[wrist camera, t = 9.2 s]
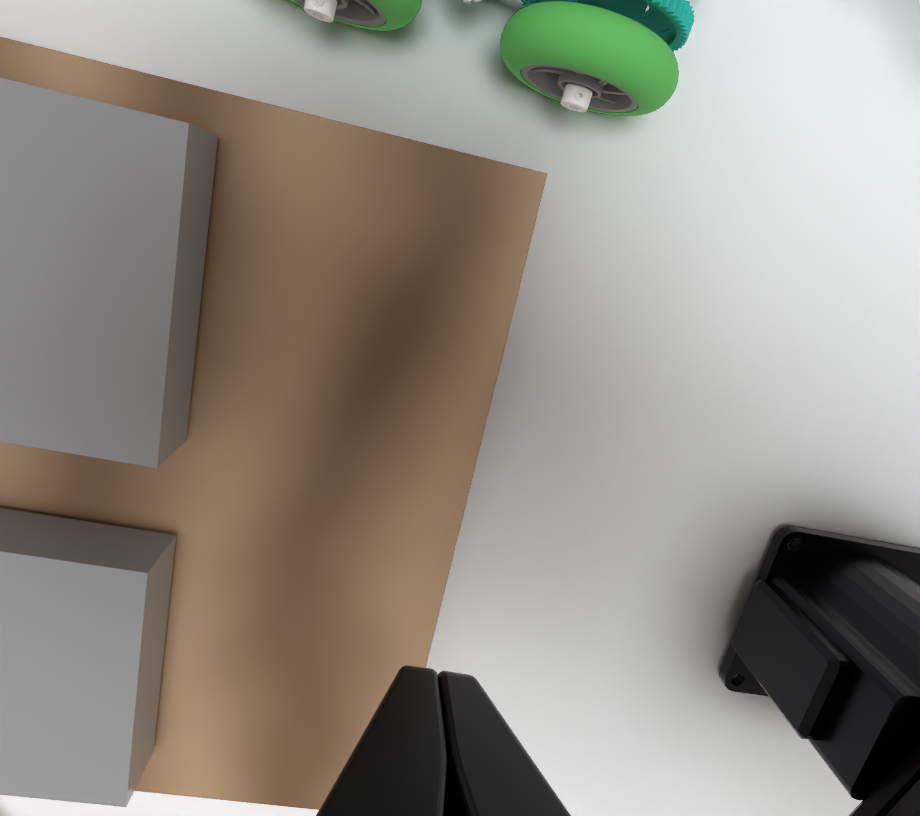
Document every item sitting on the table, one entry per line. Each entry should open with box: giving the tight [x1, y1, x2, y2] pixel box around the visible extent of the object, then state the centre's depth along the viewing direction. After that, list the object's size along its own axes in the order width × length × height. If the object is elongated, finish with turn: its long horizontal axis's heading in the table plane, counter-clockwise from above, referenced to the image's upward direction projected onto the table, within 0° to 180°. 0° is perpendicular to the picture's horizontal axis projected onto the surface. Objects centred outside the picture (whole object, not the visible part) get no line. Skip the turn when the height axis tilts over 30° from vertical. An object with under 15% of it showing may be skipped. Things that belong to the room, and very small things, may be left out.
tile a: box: [0, 508, 176, 807], centre depth 17 cm, size 2×8×8 cm
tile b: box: [0, 78, 218, 468], centre depth 14 cm, size 2×8×8 cm
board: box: [0, 37, 547, 810], centre depth 18 cm, size 20×22×1 cm
